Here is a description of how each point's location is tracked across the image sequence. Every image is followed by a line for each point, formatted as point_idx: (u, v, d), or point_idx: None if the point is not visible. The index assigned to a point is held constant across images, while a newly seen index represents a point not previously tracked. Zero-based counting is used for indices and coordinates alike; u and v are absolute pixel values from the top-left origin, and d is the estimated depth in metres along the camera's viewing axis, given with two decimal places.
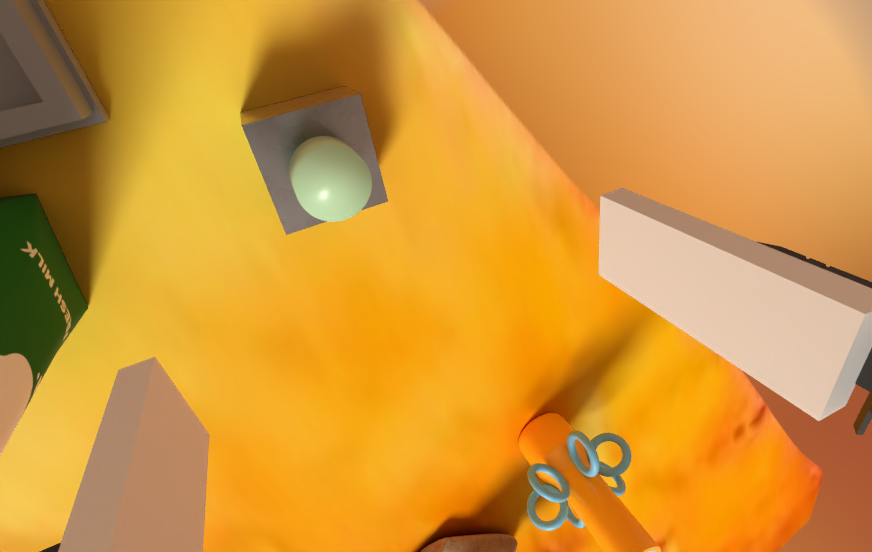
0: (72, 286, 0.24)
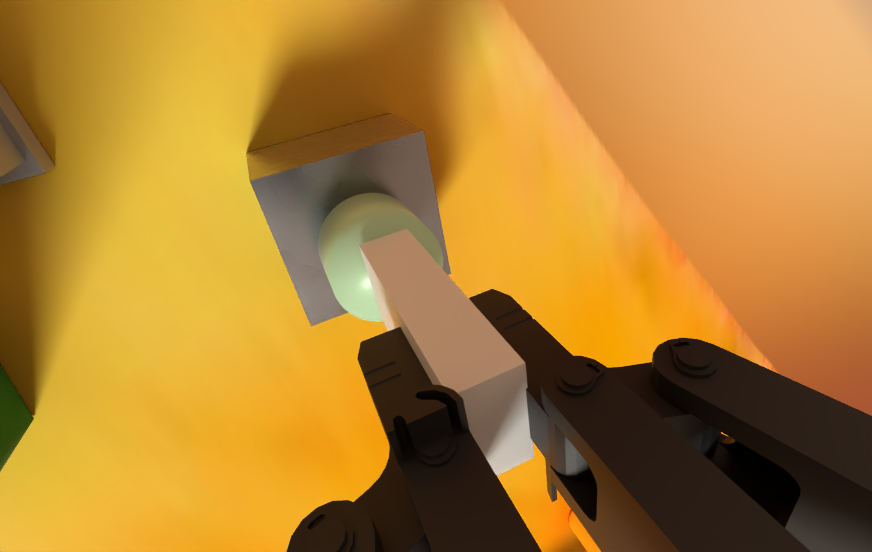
0: (4, 402, 0.17)
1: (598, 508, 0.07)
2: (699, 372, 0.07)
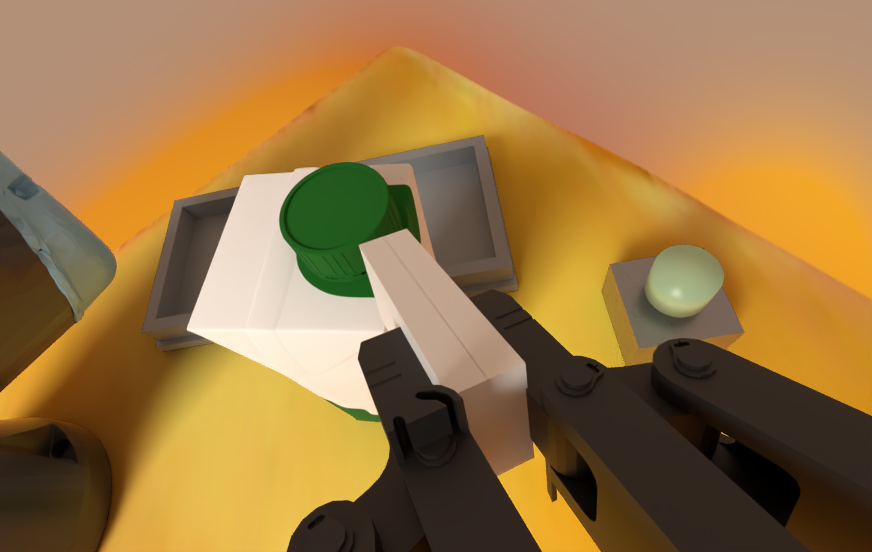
0: None
1: (598, 508, 0.07)
2: (699, 372, 0.07)
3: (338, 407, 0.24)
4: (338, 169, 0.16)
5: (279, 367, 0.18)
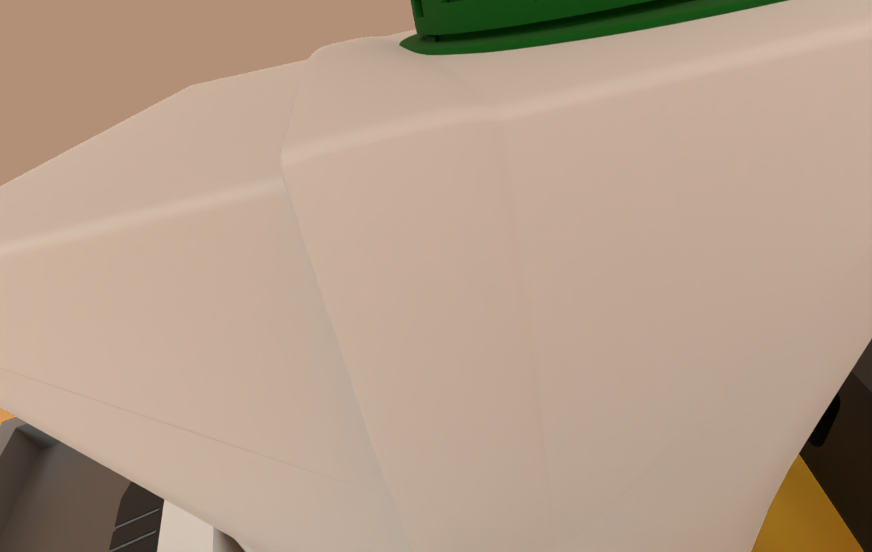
0: None
1: (831, 431, 0.07)
2: None
3: None
4: None
5: (419, 515, 0.03)
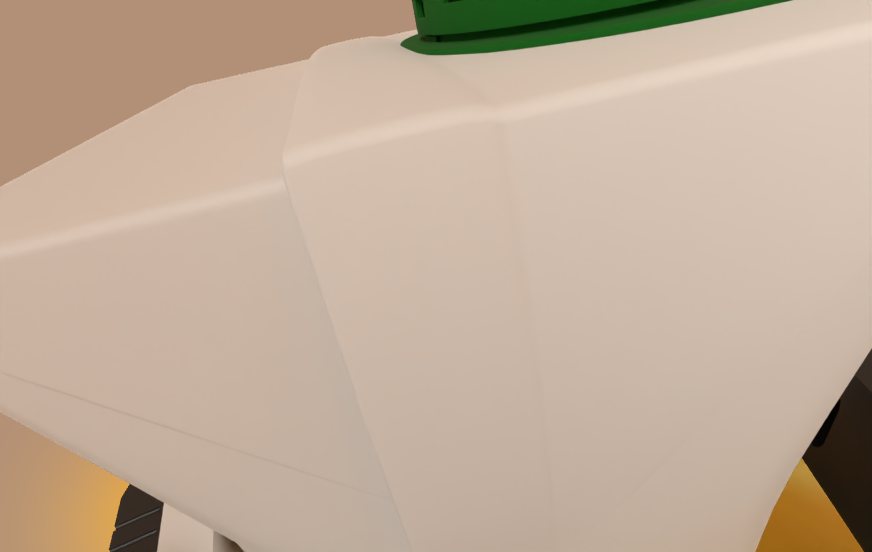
0: None
1: (831, 431, 0.07)
2: None
3: None
4: None
5: (421, 519, 0.03)
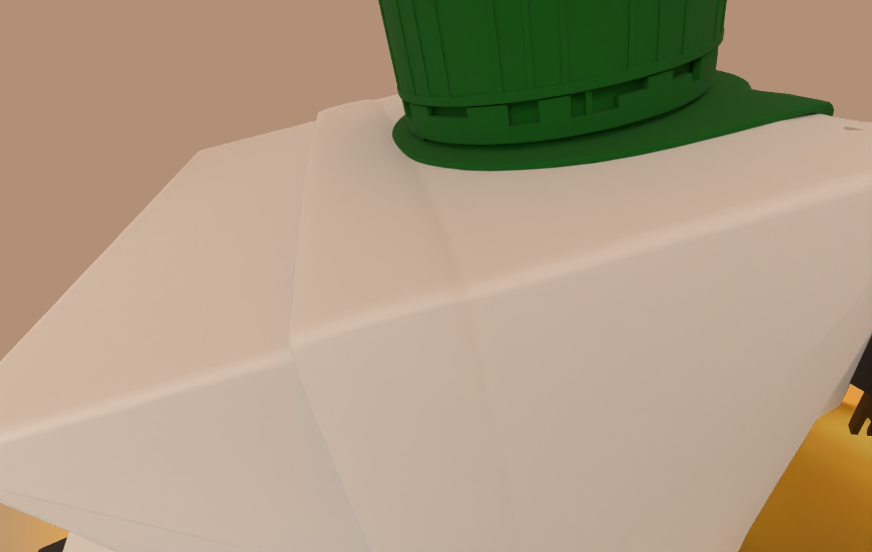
0: None
1: None
2: None
3: None
4: None
5: None
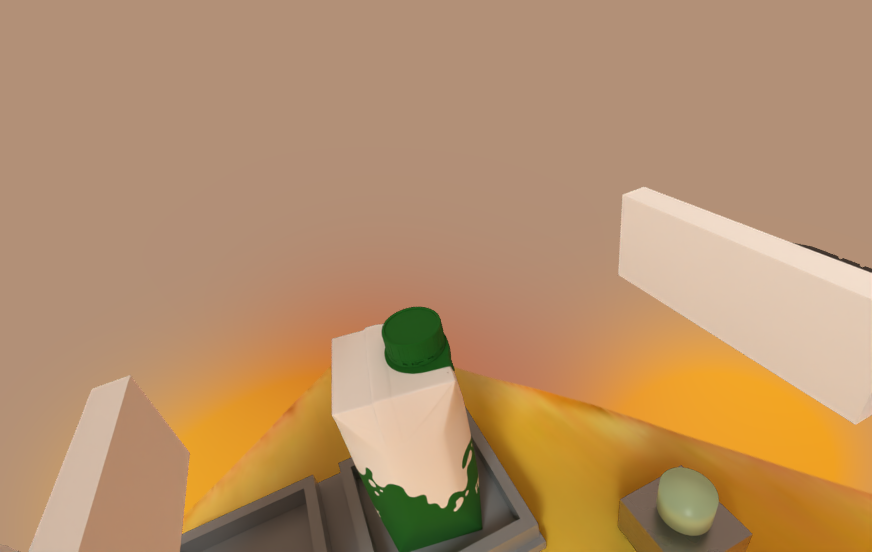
0: None
1: None
2: None
3: (403, 503, 0.32)
4: (404, 312, 0.31)
5: (385, 436, 0.28)
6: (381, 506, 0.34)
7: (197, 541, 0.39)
